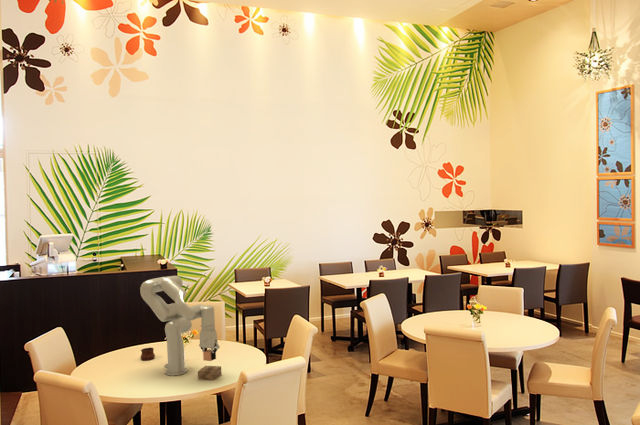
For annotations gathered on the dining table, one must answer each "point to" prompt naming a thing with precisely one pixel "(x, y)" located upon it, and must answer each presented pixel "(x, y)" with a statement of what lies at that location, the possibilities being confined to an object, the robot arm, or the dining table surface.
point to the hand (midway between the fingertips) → (209, 358)
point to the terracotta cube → (207, 355)
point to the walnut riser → (209, 372)
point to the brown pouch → (147, 354)
